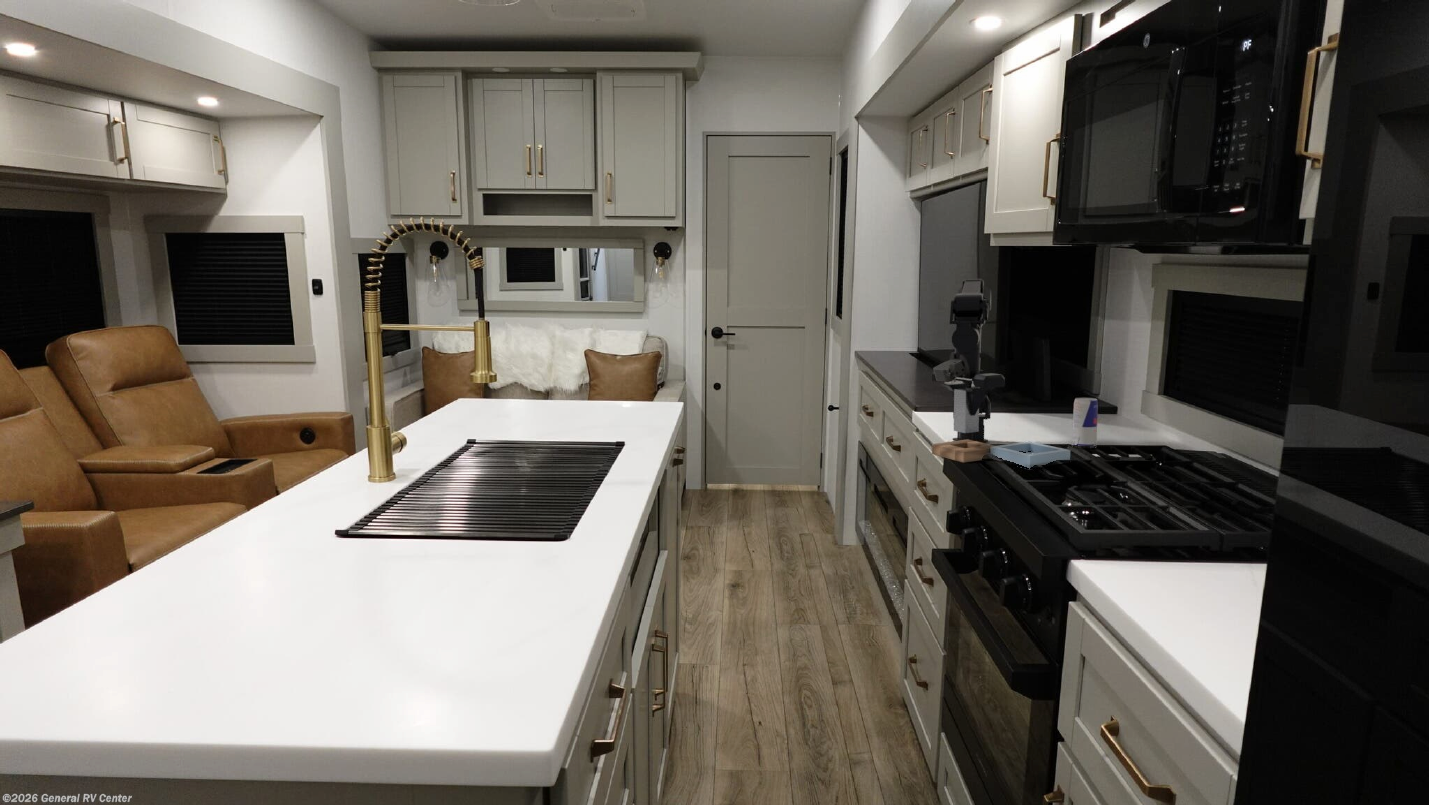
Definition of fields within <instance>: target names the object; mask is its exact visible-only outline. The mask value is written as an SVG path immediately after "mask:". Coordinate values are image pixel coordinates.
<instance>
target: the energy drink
mask: <svg viewBox="0 0 1429 805" xmlns="http://www.w3.org/2000/svg"><path fill="white" fill-rule="evenodd" d="M1098 401H1099V400H1098V399H1097V398H1095V397H1094V398H1093V397H1075V399H1074V402H1073V414H1072V415H1073V417H1072V421H1073V422H1072V424H1073V425H1072V443H1071V445H1078V446H1096V447H1097V439H1098V438H1097V437H1098V436H1097V435H1098V416H1099V414H1098V412H1099V402H1098Z"/></svg>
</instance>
